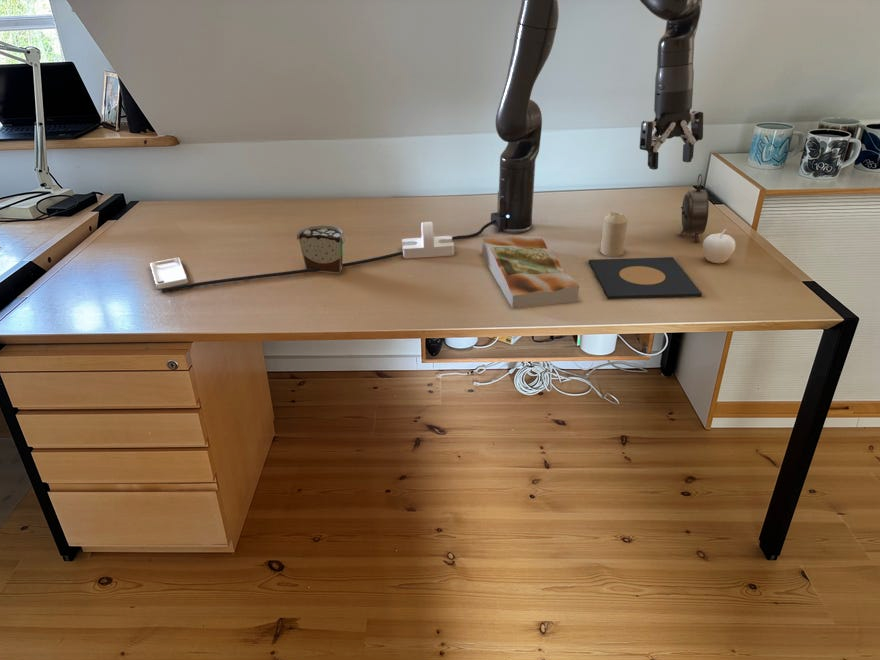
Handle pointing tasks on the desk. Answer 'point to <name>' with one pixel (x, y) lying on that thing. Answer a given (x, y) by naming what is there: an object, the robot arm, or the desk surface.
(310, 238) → the food container
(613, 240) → the candle
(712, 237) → the plain white apple
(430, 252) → the slotted bracket
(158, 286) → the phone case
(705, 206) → the alarm clock
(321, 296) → the desk surface
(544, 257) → the topographic model
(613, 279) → the mat
